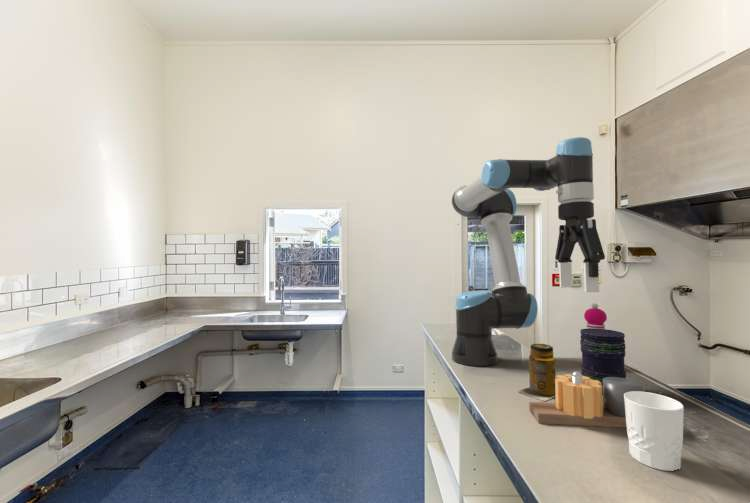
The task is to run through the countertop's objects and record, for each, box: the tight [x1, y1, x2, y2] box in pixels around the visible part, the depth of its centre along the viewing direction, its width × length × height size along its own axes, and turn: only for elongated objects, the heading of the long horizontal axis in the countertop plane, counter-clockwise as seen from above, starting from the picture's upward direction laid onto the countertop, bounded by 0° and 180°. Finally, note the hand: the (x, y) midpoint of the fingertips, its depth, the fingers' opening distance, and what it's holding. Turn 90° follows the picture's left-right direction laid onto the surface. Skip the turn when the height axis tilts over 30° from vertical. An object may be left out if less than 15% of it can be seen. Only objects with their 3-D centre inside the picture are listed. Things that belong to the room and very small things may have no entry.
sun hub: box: [602, 377, 645, 418], centre depth 71 cm, size 7×7×6 cm
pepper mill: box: [583, 303, 608, 329], centre depth 107 cm, size 7×7×20 cm
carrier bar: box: [528, 401, 627, 429], centre depth 72 cm, size 6×22×2 cm, turn 82°
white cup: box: [624, 391, 685, 472], centre depth 57 cm, size 8×8×10 cm
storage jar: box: [579, 328, 627, 397], centre depth 88 cm, size 10×10×15 cm
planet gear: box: [555, 373, 603, 419], centre depth 72 cm, size 9×9×6 cm
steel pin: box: [571, 370, 583, 384], centre depth 72 cm, size 2×2×8 cm
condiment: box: [517, 343, 556, 402], centre depth 87 cm, size 7×8×12 cm
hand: (577, 289), depth 82 cm, fingers open, 13 cm apart
